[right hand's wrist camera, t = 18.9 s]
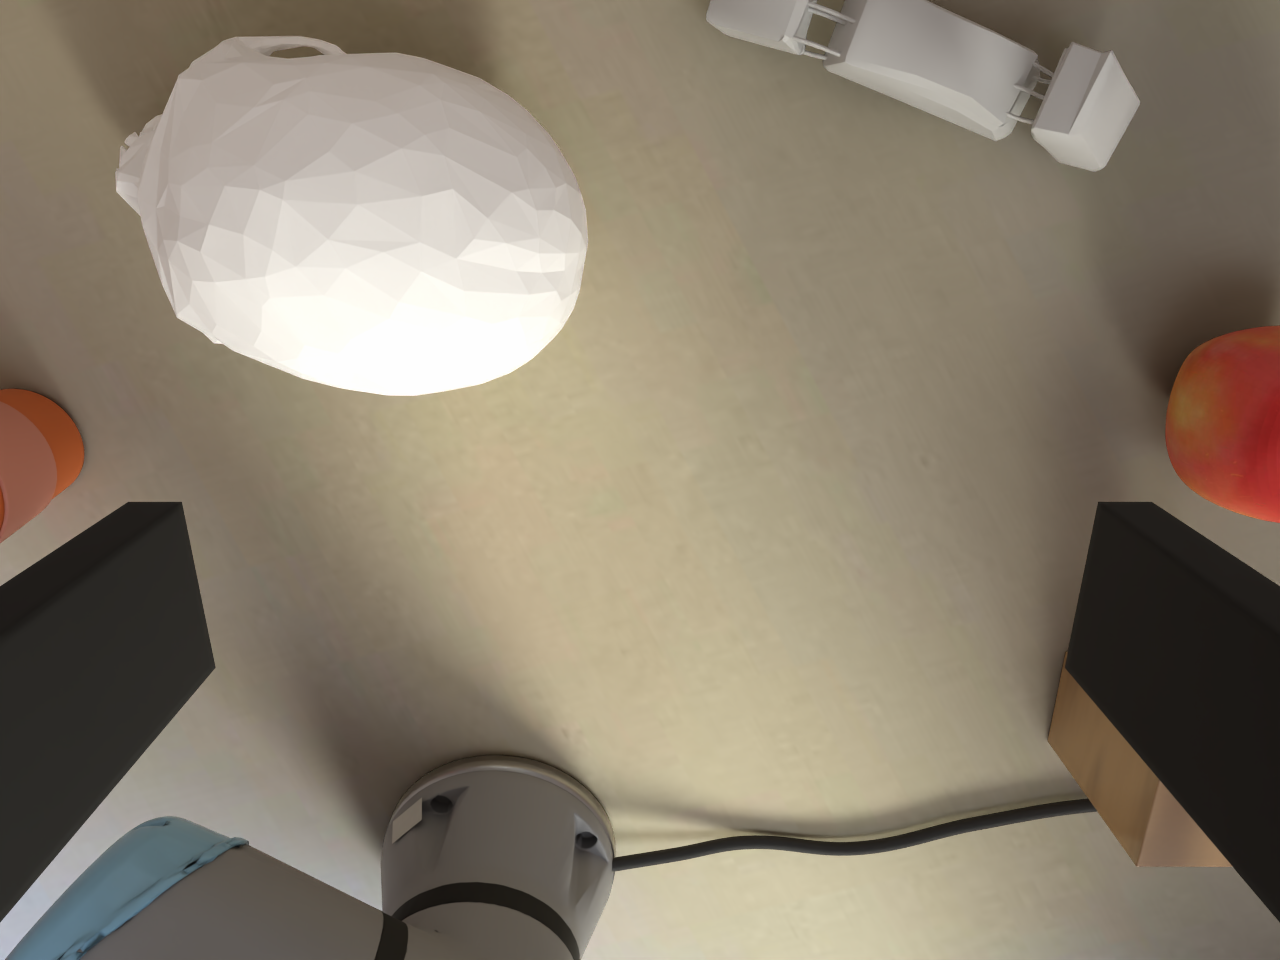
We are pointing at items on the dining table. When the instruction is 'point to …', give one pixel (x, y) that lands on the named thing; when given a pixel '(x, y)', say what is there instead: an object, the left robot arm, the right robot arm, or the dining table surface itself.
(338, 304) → the skull
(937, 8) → the white segmented model
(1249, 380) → the apple
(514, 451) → the dining table surface
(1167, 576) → the right robot arm
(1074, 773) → the brick
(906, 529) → the dining table surface
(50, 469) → the cup with straw
